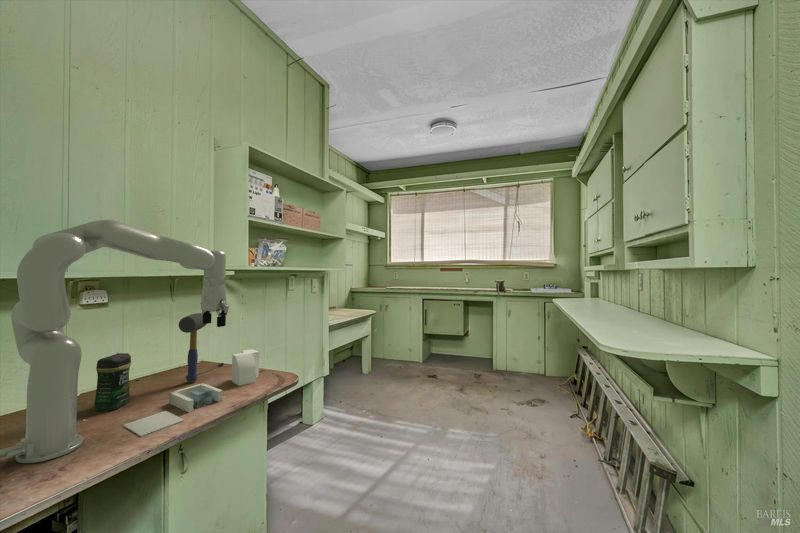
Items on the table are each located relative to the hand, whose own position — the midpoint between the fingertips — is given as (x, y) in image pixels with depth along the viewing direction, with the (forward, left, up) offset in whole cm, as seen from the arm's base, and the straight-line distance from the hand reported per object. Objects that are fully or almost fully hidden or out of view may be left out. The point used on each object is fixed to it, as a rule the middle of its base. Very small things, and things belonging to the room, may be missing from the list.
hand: (214, 324), depth 127 cm
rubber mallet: (+4, +22, -29) cm, 36 cm away
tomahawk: (+16, +30, -29) cm, 44 cm away
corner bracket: (+19, +6, -29) cm, 35 cm away
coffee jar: (-24, +20, -29) cm, 42 cm away
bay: (-6, 0, -28) cm, 29 cm away
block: (-6, -4, -28) cm, 29 cm away
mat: (-22, -6, -28) cm, 36 cm away
